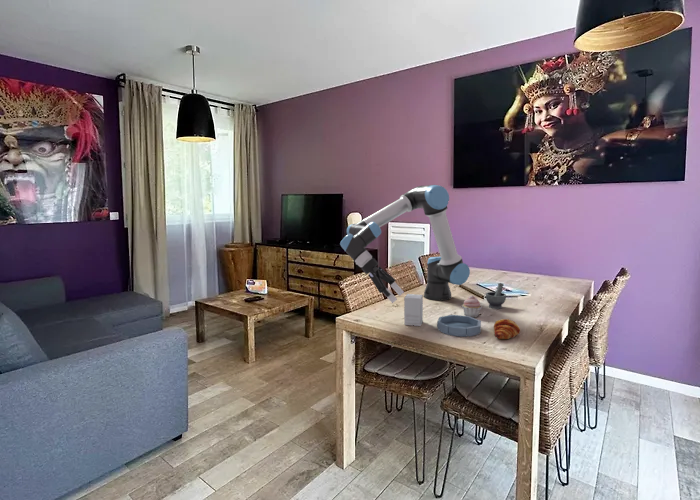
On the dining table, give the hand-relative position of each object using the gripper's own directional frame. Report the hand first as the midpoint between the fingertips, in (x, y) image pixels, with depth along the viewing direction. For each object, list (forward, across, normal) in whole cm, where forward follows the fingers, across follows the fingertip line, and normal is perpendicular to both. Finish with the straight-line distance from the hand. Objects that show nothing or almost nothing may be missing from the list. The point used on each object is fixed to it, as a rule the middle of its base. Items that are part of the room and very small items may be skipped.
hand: (398, 297), depth 179 cm
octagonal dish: (+27, +1, +11) cm, 29 cm away
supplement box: (+13, -1, -4) cm, 14 cm away
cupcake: (+30, -21, +14) cm, 39 cm away
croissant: (+41, +1, +24) cm, 47 cm away
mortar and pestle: (+38, -40, +21) cm, 59 cm away
